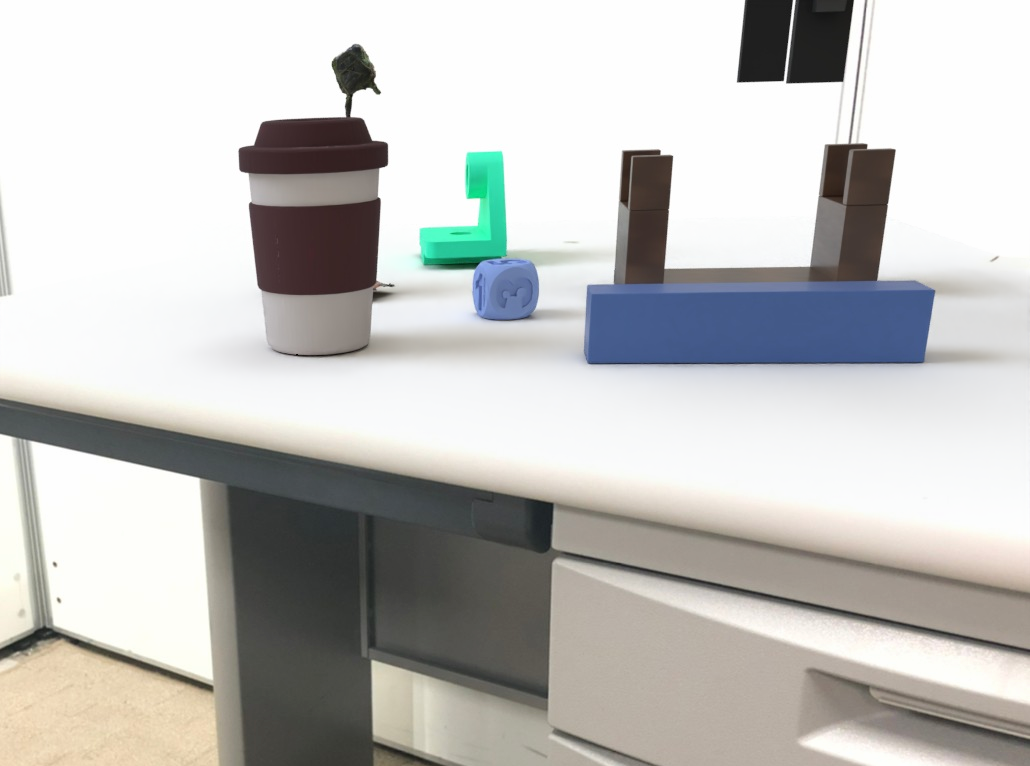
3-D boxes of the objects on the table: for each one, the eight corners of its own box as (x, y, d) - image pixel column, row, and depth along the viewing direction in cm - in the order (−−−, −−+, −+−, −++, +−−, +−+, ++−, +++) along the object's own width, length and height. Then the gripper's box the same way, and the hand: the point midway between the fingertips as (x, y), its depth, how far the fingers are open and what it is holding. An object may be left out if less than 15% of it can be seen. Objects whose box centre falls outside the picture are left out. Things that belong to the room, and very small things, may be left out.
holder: (844, 280, 101) (863, 142, 97) (875, 298, 93) (897, 149, 89) (613, 283, 104) (621, 150, 100) (623, 301, 96) (633, 156, 92)
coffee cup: (255, 333, 89) (244, 119, 83) (388, 330, 88) (386, 114, 83) (241, 363, 80) (229, 124, 74) (390, 359, 79) (389, 118, 73)
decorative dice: (471, 312, 93) (472, 260, 92) (520, 308, 94) (522, 257, 93) (487, 321, 90) (488, 267, 88) (538, 317, 90) (540, 264, 89)
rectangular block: (905, 350, 76) (916, 280, 74) (924, 362, 73) (936, 289, 71) (583, 351, 79) (587, 284, 77) (587, 363, 76) (591, 293, 74)
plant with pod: (302, 284, 110) (294, 48, 102) (408, 292, 103) (407, 41, 96) (247, 298, 104) (234, 48, 96) (355, 307, 97) (350, 41, 90)
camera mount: (418, 253, 126) (419, 150, 122) (491, 250, 125) (494, 147, 122) (426, 270, 115) (426, 157, 111) (506, 267, 114) (509, 154, 110)
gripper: (716, -287, 74) (684, 83, 81) (820, -452, 51) (763, 85, 58) (845, -297, 72) (800, 79, 80) (1011, -469, 50) (926, 80, 57)
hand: (784, 83), depth 69 cm, fingers open, 13 cm apart
